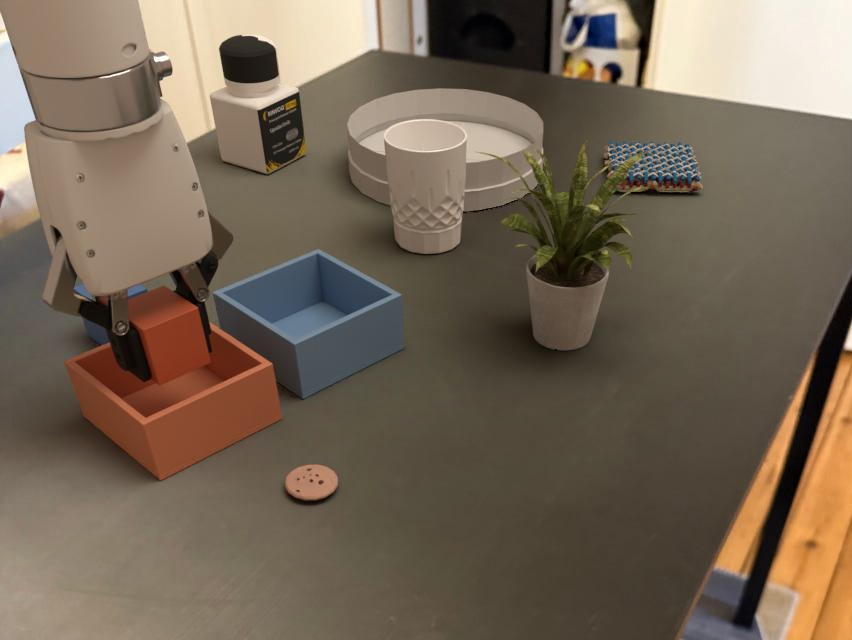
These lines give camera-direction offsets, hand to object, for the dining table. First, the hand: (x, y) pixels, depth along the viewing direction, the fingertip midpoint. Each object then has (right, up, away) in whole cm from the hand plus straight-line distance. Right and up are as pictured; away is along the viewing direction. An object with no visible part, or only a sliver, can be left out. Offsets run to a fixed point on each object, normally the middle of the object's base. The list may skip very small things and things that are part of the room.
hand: (167, 357), depth 69 cm
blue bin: (+9, +4, +11) cm, 15 cm away
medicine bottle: (-1, +35, +38) cm, 51 cm away
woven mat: (+43, +32, +36) cm, 64 cm away
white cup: (+18, +20, +25) cm, 37 cm away
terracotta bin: (0, -4, +4) cm, 5 cm away
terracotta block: (0, 0, 0) cm, 0 cm away
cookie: (+11, -10, -1) cm, 15 cm away
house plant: (+30, +6, +13) cm, 33 cm away
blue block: (-8, +6, +12) cm, 15 cm away
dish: (+20, +32, +36) cm, 52 cm away
